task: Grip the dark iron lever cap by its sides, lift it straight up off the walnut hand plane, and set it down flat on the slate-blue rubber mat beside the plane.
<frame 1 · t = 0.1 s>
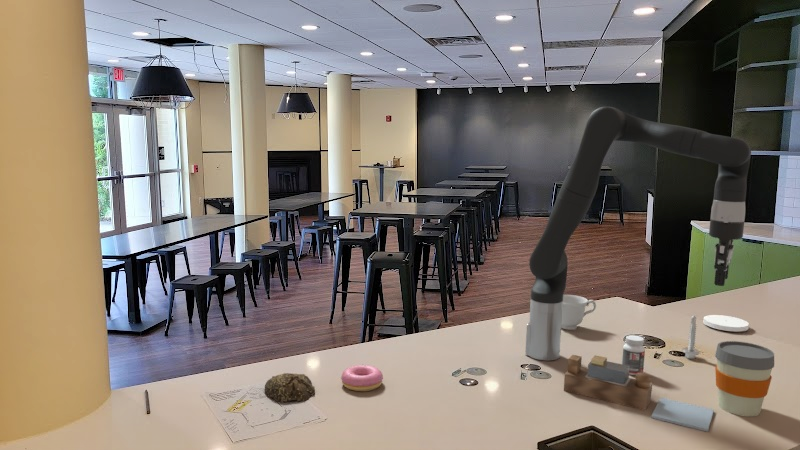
hand: (721, 281, 157), 29 cm above the countertop, tool pointing down, fingers open, 8 cm apart
pill bottle: (632, 372, 173), on the countertop
lever cap: (608, 377, 157), point 5 cm above the countertop, touching plane body
reusable coffee cup: (738, 408, 152), on the countertop
plane body: (606, 395, 158), on the countertop
screw: (690, 358, 185), on the countertop
mossy brown rock: (291, 393, 156), on the countertop
doughnut: (362, 385, 162), on the countertop
teacup: (572, 327, 212), on the countertop
plastic lid: (725, 328, 216), on the countertop
rubber mat: (682, 414, 147), on the countertop
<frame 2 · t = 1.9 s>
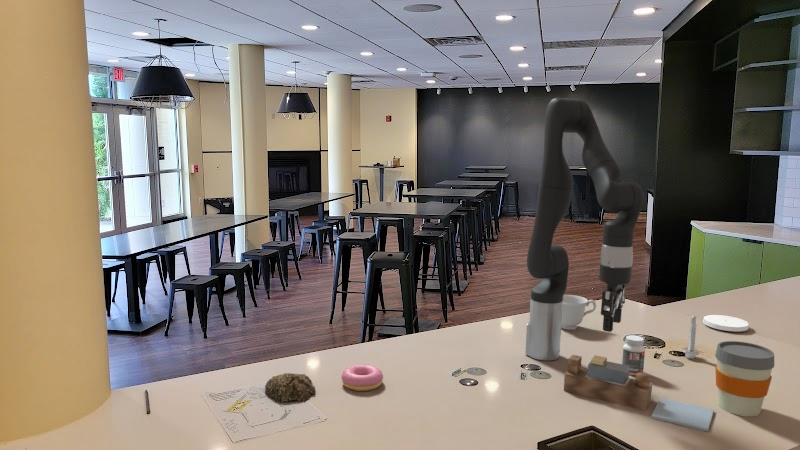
hand: (611, 326, 155), 18 cm above the countertop, tool pointing down, fingers open, 8 cm apart
nothing on the countertop moved.
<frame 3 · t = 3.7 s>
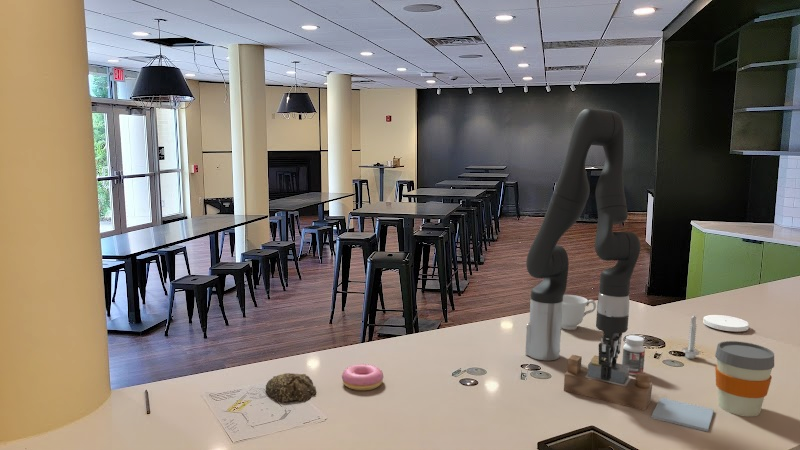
hand: (608, 375, 157), 5 cm above the countertop, tool pointing down, fingers closed on lever cap, 5 cm apart
lever cap: (608, 377, 157), point 5 cm above the countertop, touching gripper, plane body
everything else where it was.
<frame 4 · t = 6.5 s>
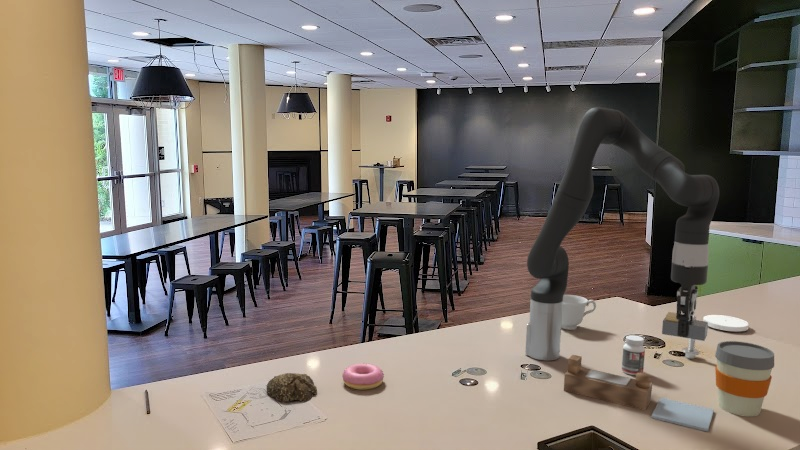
hand: (684, 332, 145), 20 cm above the countertop, tool pointing down, fingers closed on lever cap, 5 cm apart
lever cap: (684, 334, 145), point 20 cm above the countertop, touching gripper
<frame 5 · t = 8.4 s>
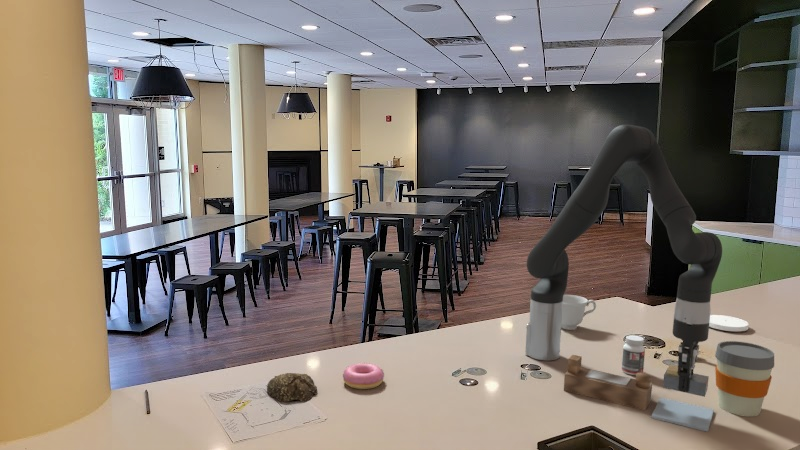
hand: (685, 386, 146), 7 cm above the countertop, tool pointing down, fingers closed on lever cap, 5 cm apart
lever cap: (685, 388, 146), point 7 cm above the countertop, touching gripper
when the fingers open (2 cm above the countertop, at t = 9.8 s): lever cap drops 1 cm, resting on rubber mat.
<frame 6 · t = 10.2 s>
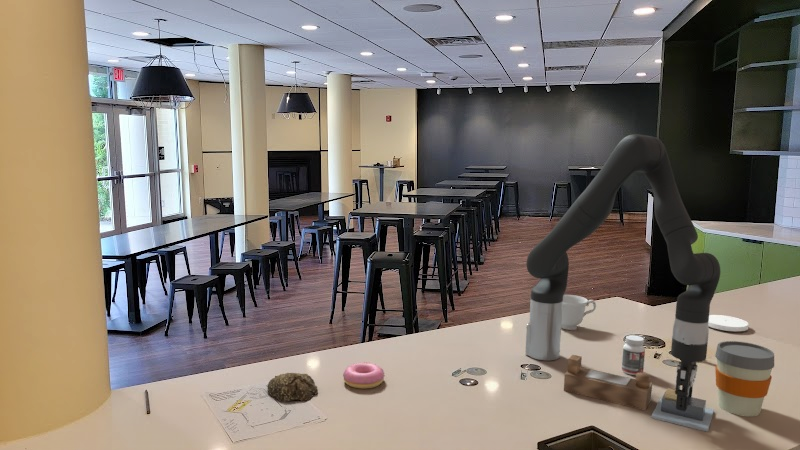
hand: (683, 403, 147), 3 cm above the countertop, tool pointing down, fingers open, 8 cm apart
lever cap: (682, 412, 147), point 1 cm above the countertop, touching rubber mat
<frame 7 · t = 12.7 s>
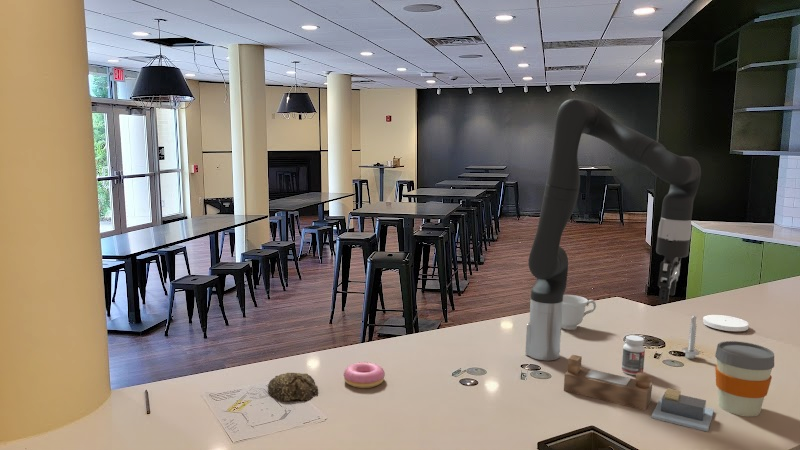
hand: (666, 298, 158), 24 cm above the countertop, tool pointing down, fingers open, 8 cm apart
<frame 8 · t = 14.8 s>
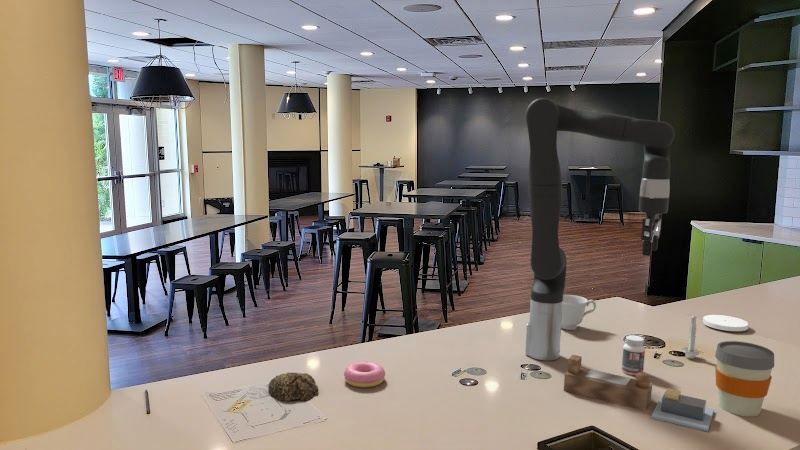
hand: (649, 252, 173), 33 cm above the countertop, tool pointing down, fingers open, 8 cm apart
at the end: lever cap inside the target area on the rubber mat (0.1 cm from its centre), point 0.6 cm above the rubber mat's base; lever cap tilted 0°; the gripper is holding nothing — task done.
